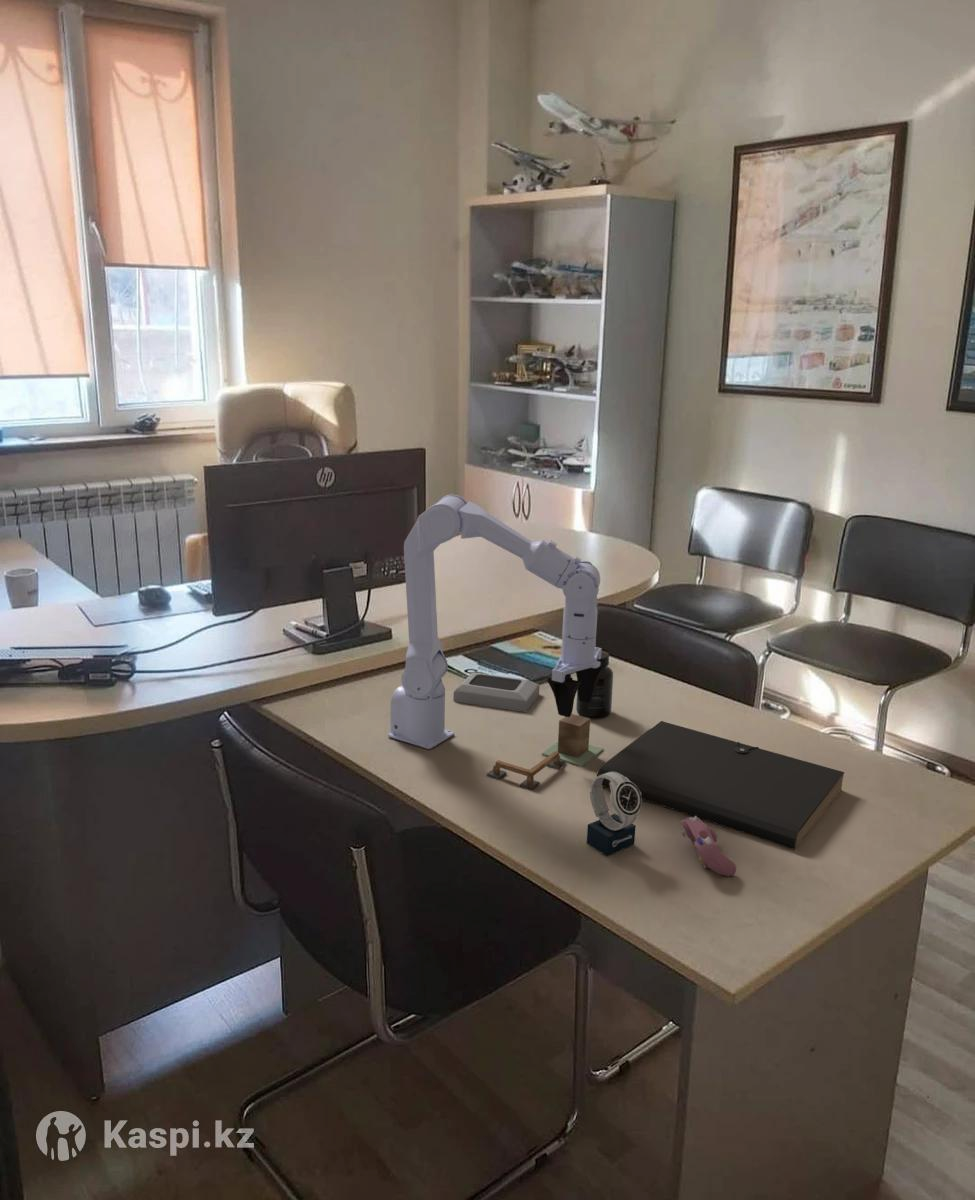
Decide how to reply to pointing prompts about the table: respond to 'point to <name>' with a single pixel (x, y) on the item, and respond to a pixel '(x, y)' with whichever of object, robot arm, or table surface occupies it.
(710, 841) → the pink curved piece
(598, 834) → the watch
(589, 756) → the mat
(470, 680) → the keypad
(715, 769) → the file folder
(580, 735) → the block
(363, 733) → the table surface
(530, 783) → the brown angled rail
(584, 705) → the supplement bottle
